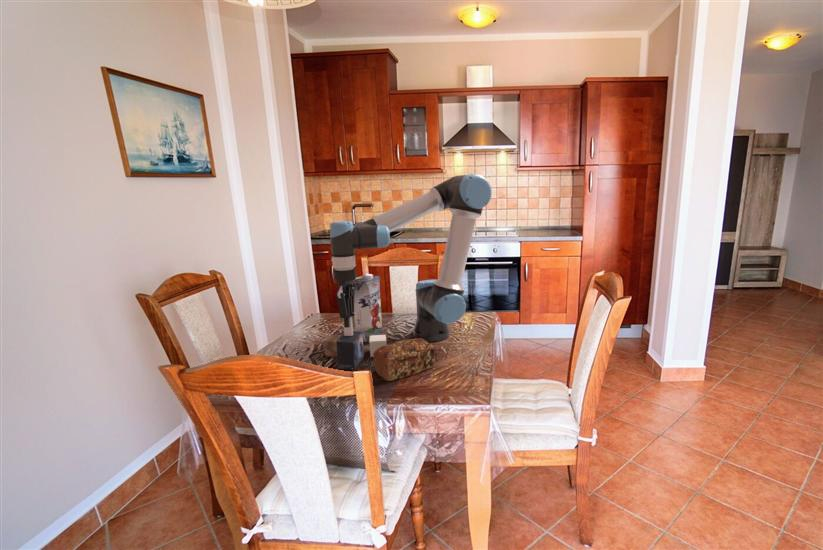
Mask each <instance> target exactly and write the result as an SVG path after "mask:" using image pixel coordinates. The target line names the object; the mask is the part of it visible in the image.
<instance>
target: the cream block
mask: <svg viewBox="0 0 823 550" xmlns="http://www.w3.org/2000/svg"><path fill="white" fill-rule="evenodd" d="M368 344H369V354H370V356H369V357H370V358H372V357H373V358H374V354H373V353H374V352H375V350H377V349H378V348H380V347H382V346H384V345H385V346H386V345H387V334H382V335H372V336H370V340H369V343H368Z"/></svg>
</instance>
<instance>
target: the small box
mask: <svg viewBox="0 0 823 550" xmlns="http://www.w3.org/2000/svg"><path fill="white" fill-rule="evenodd" d="M340 336H341V337H340V338H339V339H338V340H337V341H336V346H337V357H336V358H337V370H344V371H355V370H356V369H357V368H358V367H359V365H360V364H361V363H362V361H363V360H364V359H365V352H364V351H365V349H364V341H363V332H361V331H355V330H353V335H352V336H344V333H343V334H342V335H340Z"/></svg>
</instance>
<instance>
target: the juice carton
mask: <svg viewBox="0 0 823 550" xmlns="http://www.w3.org/2000/svg"><path fill="white" fill-rule="evenodd" d="M380 280H381V278H380V276H379V275H374V274H371V273H366V274H364V275H361V276H359V277H356V279H355V280H352V284H355V298H354V312H353V314H355V315H354V316H353V319H354V331H361V332H363V343H364V342H365V343H367V344H369V340H370V336H372V335H383V325H382V324H383V323H382V320H383V319H382V308H381V307H382V305H381V303H382V302H381V290H380V288H381V287H380V286H381V285H380V284H381V283H380Z"/></svg>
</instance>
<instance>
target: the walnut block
mask: <svg viewBox="0 0 823 550" xmlns="http://www.w3.org/2000/svg"><path fill="white" fill-rule="evenodd" d="M341 336H342V335H336V334H331V335H330V336H329V337H327V338H325V339H323V349H324V356H326V357H334V358H337V346H336V341H337V340H338V339H339V338H340V337H341Z"/></svg>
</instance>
